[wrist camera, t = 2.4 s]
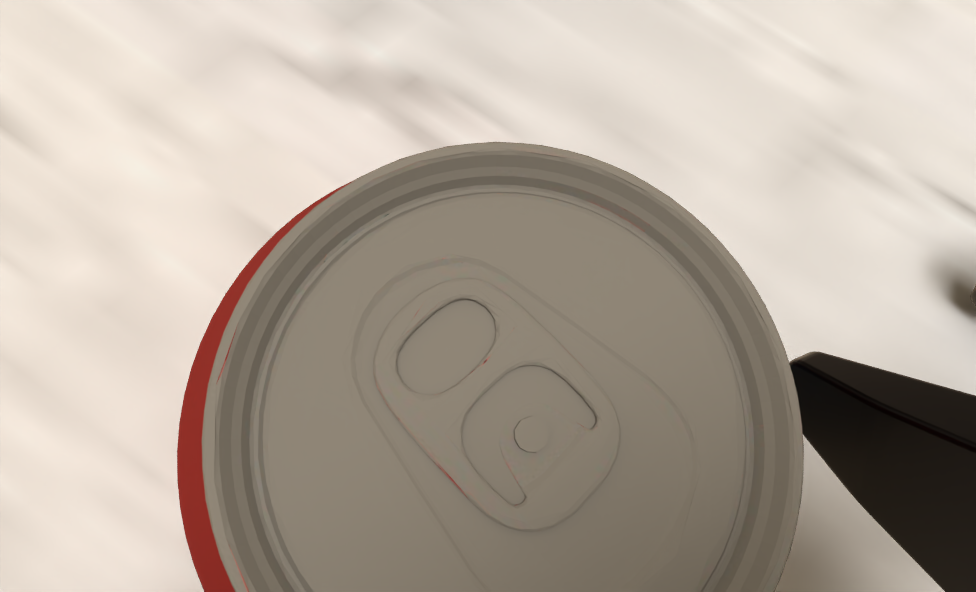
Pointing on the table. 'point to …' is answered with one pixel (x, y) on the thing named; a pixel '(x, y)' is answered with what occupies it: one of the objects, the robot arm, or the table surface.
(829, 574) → the table surface
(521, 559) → the beverage can
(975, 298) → the valve
